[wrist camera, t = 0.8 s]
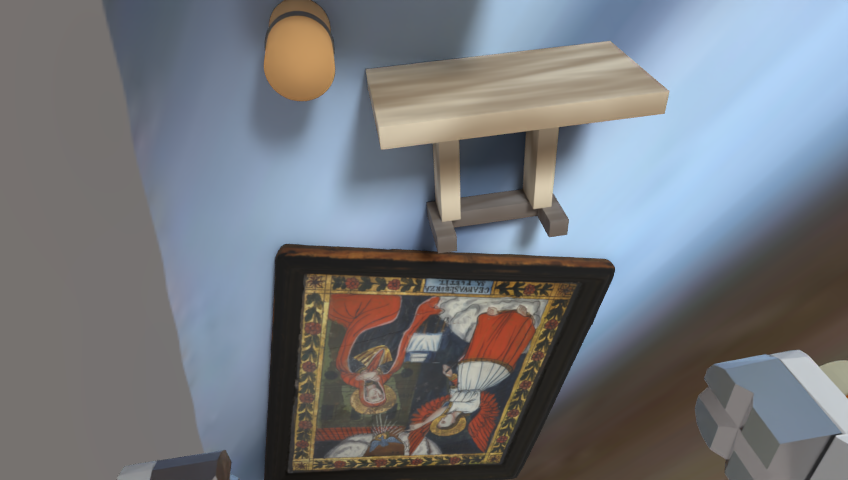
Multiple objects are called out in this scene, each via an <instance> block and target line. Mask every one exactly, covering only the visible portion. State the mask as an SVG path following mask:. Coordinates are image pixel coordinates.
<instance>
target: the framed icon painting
mask: <svg viewBox="0 0 848 480" xmlns="http://www.w3.org/2000/svg"><path fill="white" fill-rule="evenodd" d="M614 272H615V267H614V265H613V264H612V263H611V262H610V261H609V260H607V259H596V258H574V257H549V256H532V255H513V254H482V253H455V252H444V253H438V252H435V251H420V250H402V249H390V250H387V249H373V248H354V247H331V246H308V245H298V244H285V245H283V246H281V248H280V249H279V251H278V253H277V255H276V260H275V285H274V304H273V326H272V343H271V364H270V383H269V401H268V418H267V437H266V455H265V474H264V480H505V479H514V478H516V477H517V476H518V475H519V473H520V471H521V470H522V468H523V466H524V464H525V462H526V460H527V458H528V456H529V454H530V452H531V450H532V448H533V446H534V444H535V442H536V440H537V438H538V436H539V434H540V432H541V430H542V428H543V425H544V423H545V421H546V419H547V417H548V415H549V413H550V410H551V408H552V406H553V404H554V402H555V400H556V398H557V396H558V394H559V392H560V389H561V387H562V385H563V383H564V381H565V379H566V377H567V375H568V372H569V370H570V368H571V366H572V364H573V362H574V360H575V358H576V356H577V354H578V352H579V349H580V347H581V345H582V343H583V341H584V339H585V337H586V335H587V333H588V331H589V329H590V327H591V325H592V324H593V322H594V319H595V317H596V314H597V312H598V309H599V307H600V305H601V303H602V301H603V299H604V296H605V294H606V292H607V290H608V288H609V286H610V283H611V281H612V279H613V276H614Z"/></svg>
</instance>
